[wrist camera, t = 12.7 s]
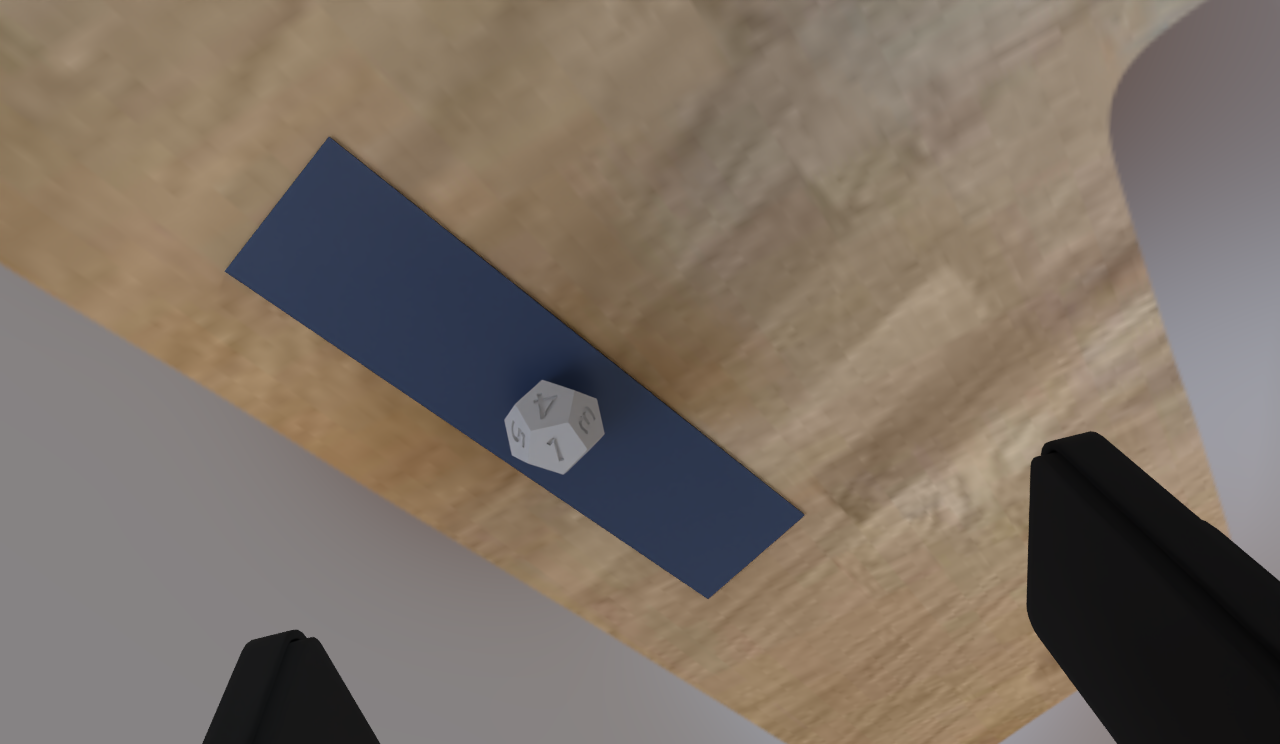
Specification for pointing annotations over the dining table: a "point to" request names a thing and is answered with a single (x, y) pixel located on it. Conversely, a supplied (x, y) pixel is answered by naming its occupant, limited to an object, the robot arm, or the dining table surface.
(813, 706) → the dining table surface
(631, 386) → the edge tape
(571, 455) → the game die
